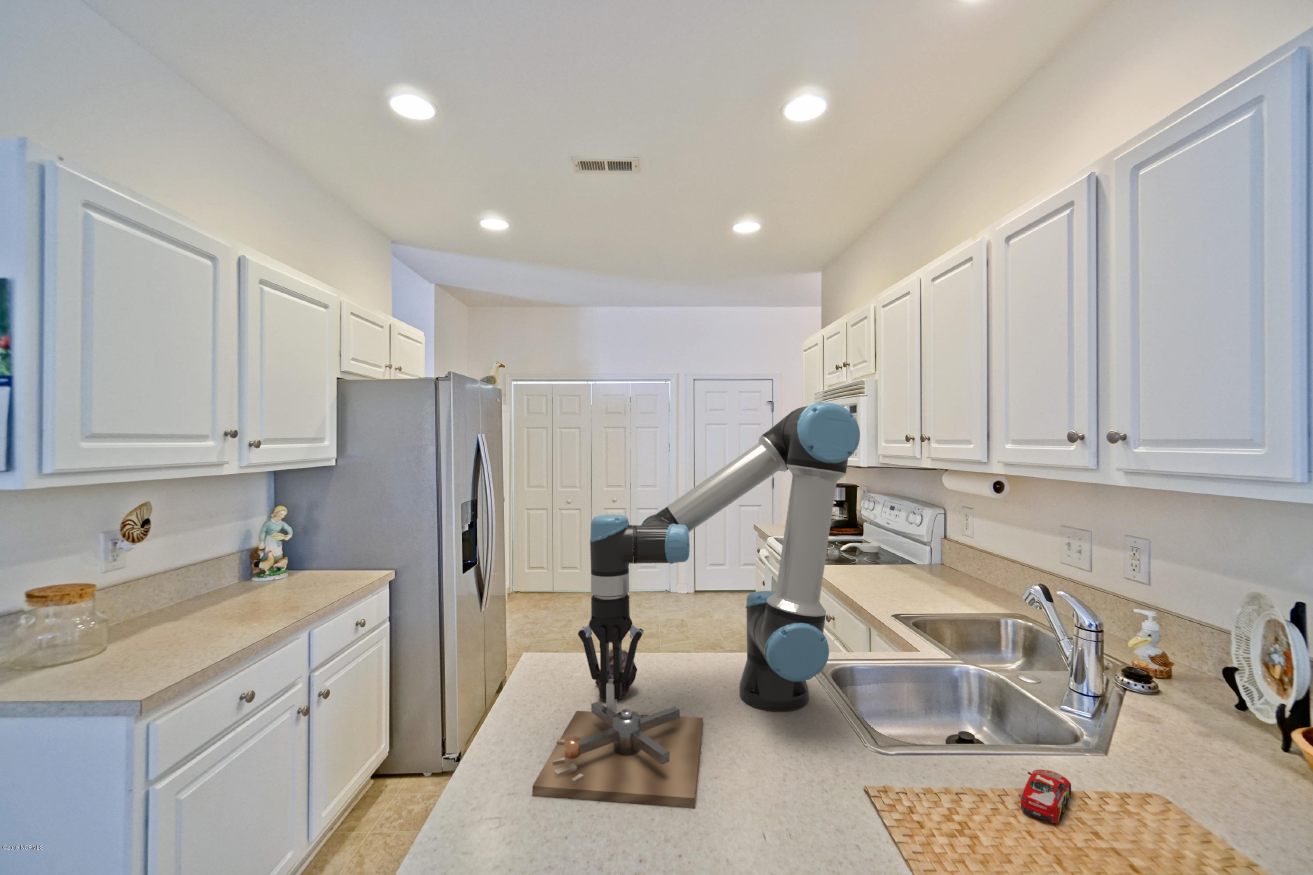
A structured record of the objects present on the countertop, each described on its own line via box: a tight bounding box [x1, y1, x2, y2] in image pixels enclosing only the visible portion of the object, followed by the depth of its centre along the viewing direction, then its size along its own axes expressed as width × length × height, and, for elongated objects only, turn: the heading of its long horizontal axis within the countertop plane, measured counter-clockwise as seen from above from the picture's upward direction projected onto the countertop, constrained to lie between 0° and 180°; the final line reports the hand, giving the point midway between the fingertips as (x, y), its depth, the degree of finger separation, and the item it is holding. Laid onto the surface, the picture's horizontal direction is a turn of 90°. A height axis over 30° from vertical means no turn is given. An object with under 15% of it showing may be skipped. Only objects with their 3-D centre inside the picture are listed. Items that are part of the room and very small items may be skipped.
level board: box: [531, 710, 704, 809], centre depth 101 cm, size 26×26×2 cm
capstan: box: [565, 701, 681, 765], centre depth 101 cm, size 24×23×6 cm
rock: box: [594, 648, 638, 702], centre depth 128 cm, size 12×9×10 cm
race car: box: [1020, 769, 1072, 824], centre depth 88 cm, size 13×5×4 cm, turn 135°
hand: (611, 714), depth 111 cm, fingers closed
